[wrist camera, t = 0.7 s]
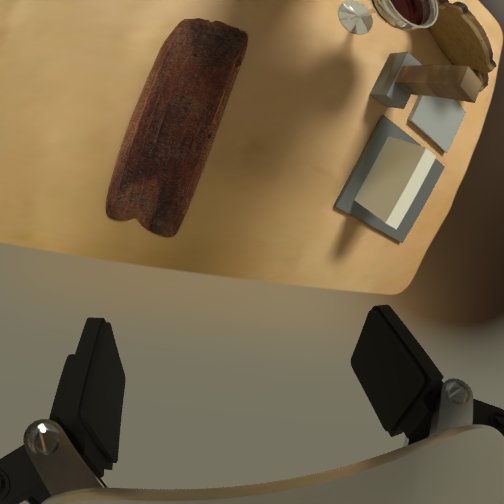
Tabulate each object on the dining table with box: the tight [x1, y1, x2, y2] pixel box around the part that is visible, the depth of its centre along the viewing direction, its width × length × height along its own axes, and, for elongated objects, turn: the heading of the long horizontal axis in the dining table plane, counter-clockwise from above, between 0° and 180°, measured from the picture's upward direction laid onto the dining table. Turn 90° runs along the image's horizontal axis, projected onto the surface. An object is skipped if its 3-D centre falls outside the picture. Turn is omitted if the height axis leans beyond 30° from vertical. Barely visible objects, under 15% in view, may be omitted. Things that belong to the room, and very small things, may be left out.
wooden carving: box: [429, 0, 496, 92], centre depth 26 cm, size 16×5×10 cm, turn 47°
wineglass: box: [338, 0, 438, 34], centre depth 23 cm, size 7×7×12 cm
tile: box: [354, 136, 436, 230], centre depth 35 cm, size 10×2×8 cm, turn 154°
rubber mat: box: [334, 116, 444, 243], centre depth 40 cm, size 14×14×1 cm
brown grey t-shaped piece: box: [370, 52, 482, 109], centre depth 27 cm, size 7×3×15 cm, turn 154°
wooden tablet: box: [106, 18, 247, 237], centre depth 32 cm, size 26×2×10 cm
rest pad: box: [408, 95, 466, 153], centre depth 36 cm, size 8×9×1 cm
